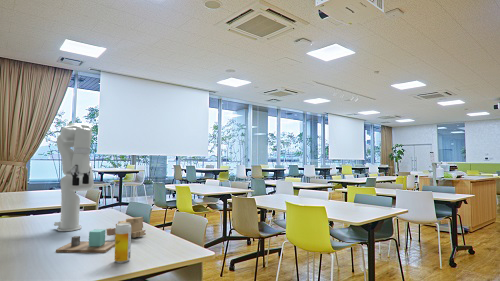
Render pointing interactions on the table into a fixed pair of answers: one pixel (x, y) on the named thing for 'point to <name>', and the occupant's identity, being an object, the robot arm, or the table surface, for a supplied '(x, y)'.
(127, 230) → the beer can
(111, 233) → the toy
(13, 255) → the table surface
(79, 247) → the stand
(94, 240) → the teal block
